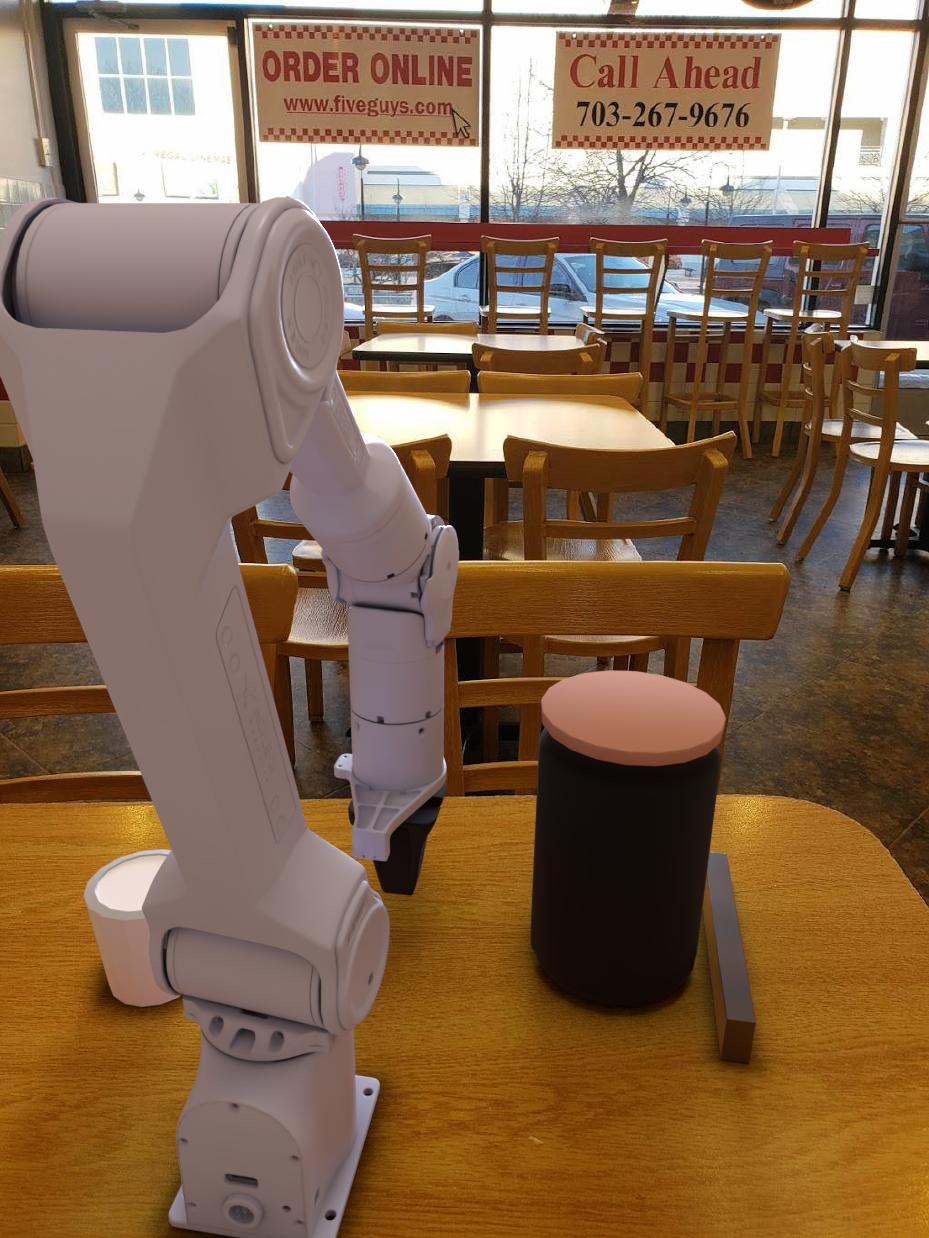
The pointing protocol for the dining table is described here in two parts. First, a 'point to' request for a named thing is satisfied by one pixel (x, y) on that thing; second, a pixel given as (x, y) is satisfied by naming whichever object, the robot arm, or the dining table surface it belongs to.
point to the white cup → (126, 925)
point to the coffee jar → (623, 833)
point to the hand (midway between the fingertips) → (399, 887)
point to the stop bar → (727, 964)
